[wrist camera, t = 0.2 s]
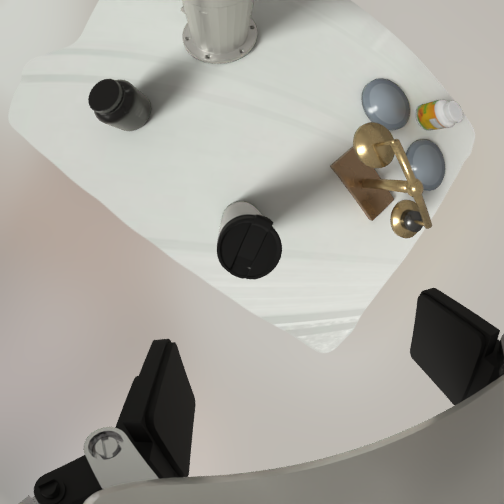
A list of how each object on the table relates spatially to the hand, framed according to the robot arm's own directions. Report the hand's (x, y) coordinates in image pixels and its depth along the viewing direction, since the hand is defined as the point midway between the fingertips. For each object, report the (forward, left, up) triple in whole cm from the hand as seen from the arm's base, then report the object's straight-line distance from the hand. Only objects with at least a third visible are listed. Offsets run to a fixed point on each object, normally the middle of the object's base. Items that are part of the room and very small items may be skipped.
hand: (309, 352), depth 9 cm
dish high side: (+1, +33, -37) cm, 50 cm away
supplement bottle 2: (+8, +40, -37) cm, 55 cm away
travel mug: (0, -1, -37) cm, 37 cm away
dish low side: (+15, +33, -37) cm, 52 cm away
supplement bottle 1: (-26, -2, -37) cm, 46 cm away
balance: (+9, +19, -37) cm, 43 cm away
